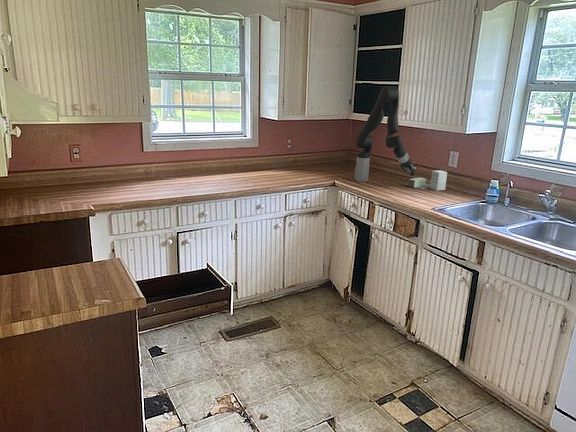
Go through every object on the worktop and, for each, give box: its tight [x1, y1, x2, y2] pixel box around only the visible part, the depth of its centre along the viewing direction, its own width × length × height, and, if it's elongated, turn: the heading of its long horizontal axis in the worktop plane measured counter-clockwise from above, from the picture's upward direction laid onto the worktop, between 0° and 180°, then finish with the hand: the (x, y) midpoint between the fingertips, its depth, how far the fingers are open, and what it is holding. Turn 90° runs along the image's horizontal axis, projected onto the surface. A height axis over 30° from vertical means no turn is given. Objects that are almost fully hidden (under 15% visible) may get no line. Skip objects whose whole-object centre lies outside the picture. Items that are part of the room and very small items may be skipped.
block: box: [407, 177, 427, 189], centre depth 314 cm, size 5×5×13 cm
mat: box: [403, 183, 431, 190], centre depth 317 cm, size 16×17×1 cm
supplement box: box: [429, 169, 448, 191], centre depth 307 cm, size 7×7×13 cm
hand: (412, 174), depth 309 cm, fingers closed
